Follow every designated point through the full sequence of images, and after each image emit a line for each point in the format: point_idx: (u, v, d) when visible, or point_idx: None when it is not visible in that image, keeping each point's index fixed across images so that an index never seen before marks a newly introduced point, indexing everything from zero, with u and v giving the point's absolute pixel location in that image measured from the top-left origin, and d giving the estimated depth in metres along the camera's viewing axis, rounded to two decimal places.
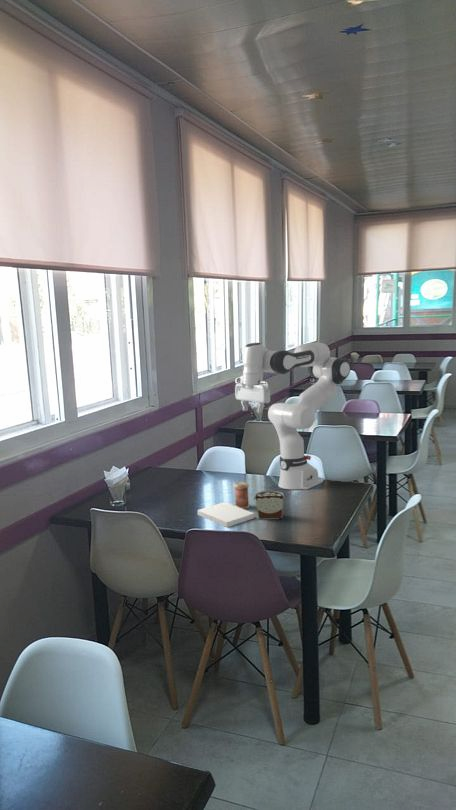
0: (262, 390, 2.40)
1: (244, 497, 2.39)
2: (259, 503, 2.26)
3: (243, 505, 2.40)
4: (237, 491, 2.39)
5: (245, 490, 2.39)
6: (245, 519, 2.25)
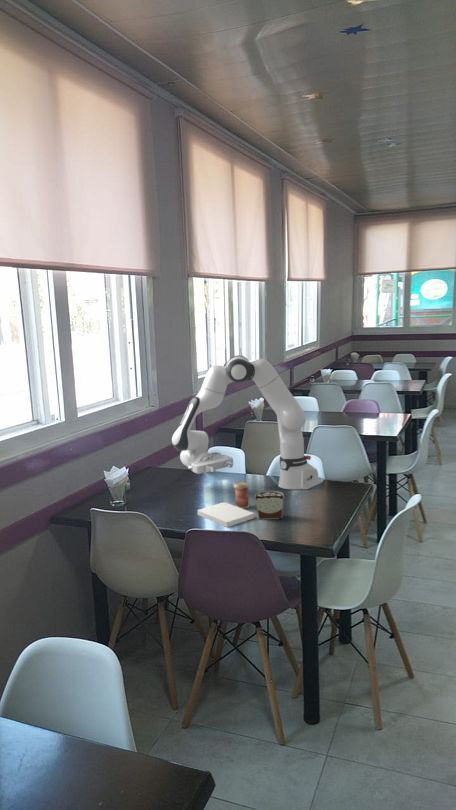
0: None
1: (244, 497, 2.39)
2: (259, 503, 2.26)
3: (243, 505, 2.40)
4: (237, 491, 2.39)
5: (245, 490, 2.39)
6: (245, 519, 2.25)
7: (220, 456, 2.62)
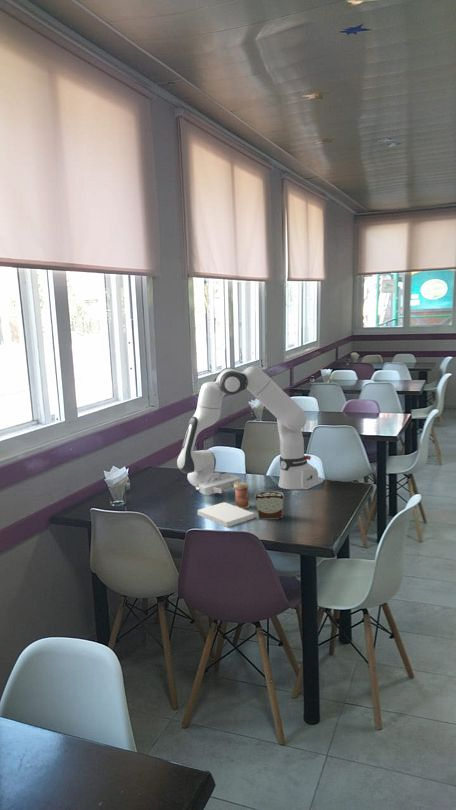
0: None
1: (244, 497, 2.39)
2: (259, 503, 2.26)
3: (243, 505, 2.40)
4: (237, 491, 2.39)
5: (245, 490, 2.39)
6: (245, 519, 2.25)
7: (228, 476, 2.59)
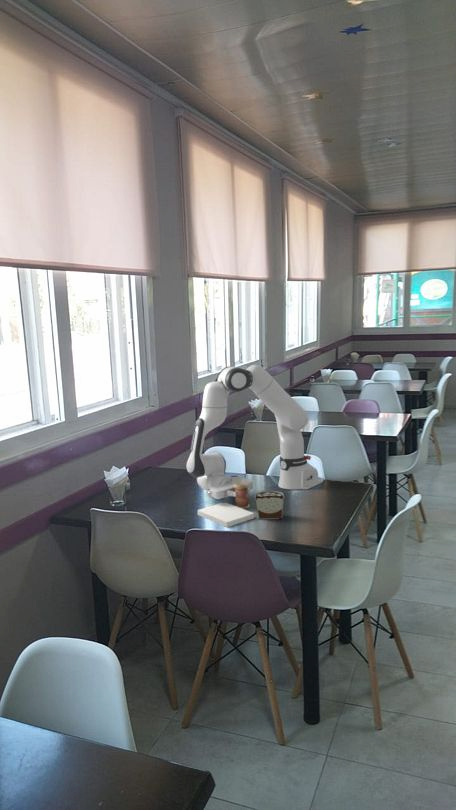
0: None
1: (244, 497, 2.39)
2: (259, 503, 2.26)
3: (243, 505, 2.40)
4: (237, 491, 2.39)
5: (245, 490, 2.39)
6: (245, 519, 2.25)
7: (239, 479, 2.53)
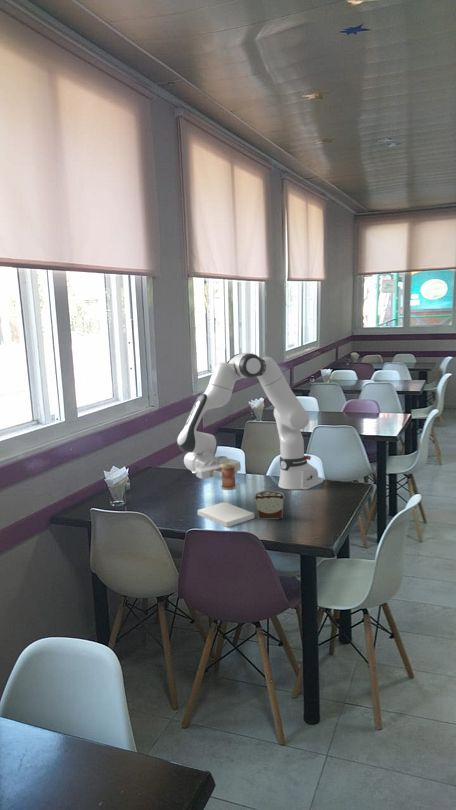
0: None
1: (231, 478, 2.31)
2: (259, 503, 2.26)
3: (229, 486, 2.31)
4: (223, 471, 2.31)
5: (232, 470, 2.31)
6: (245, 519, 2.25)
7: (226, 460, 2.44)
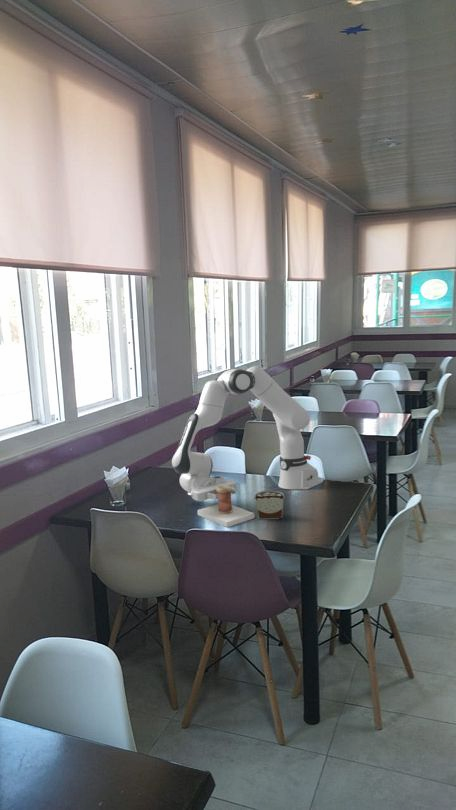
0: None
1: (227, 502, 2.29)
2: (259, 503, 2.26)
3: (226, 510, 2.29)
4: (220, 495, 2.29)
5: (228, 494, 2.29)
6: (245, 519, 2.25)
7: (222, 480, 2.42)
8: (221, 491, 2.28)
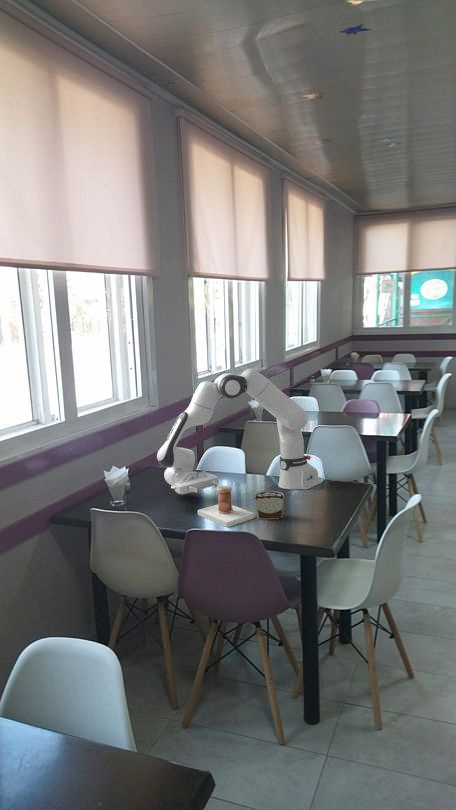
0: None
1: (227, 502, 2.29)
2: (259, 503, 2.26)
3: (226, 510, 2.29)
4: (220, 495, 2.29)
5: (228, 494, 2.29)
6: (245, 519, 2.25)
7: (205, 475, 2.52)
8: (221, 491, 2.28)
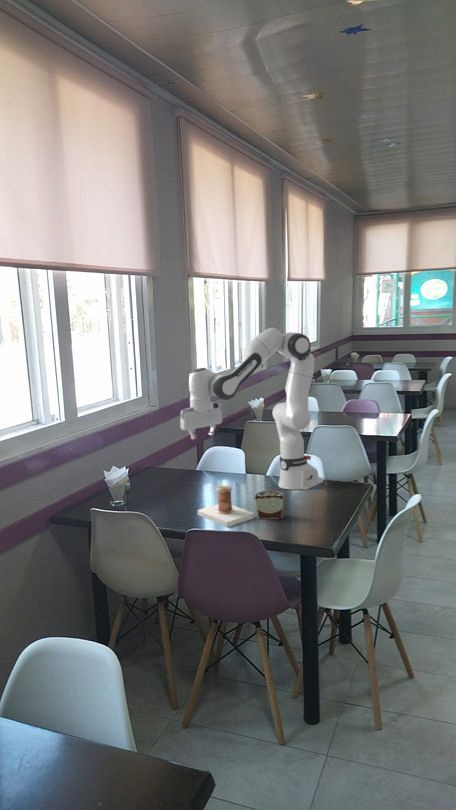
0: None
1: (227, 502, 2.29)
2: (259, 503, 2.26)
3: (226, 510, 2.29)
4: (220, 495, 2.29)
5: (228, 494, 2.29)
6: (245, 519, 2.25)
7: (216, 411, 2.49)
8: (221, 491, 2.28)
